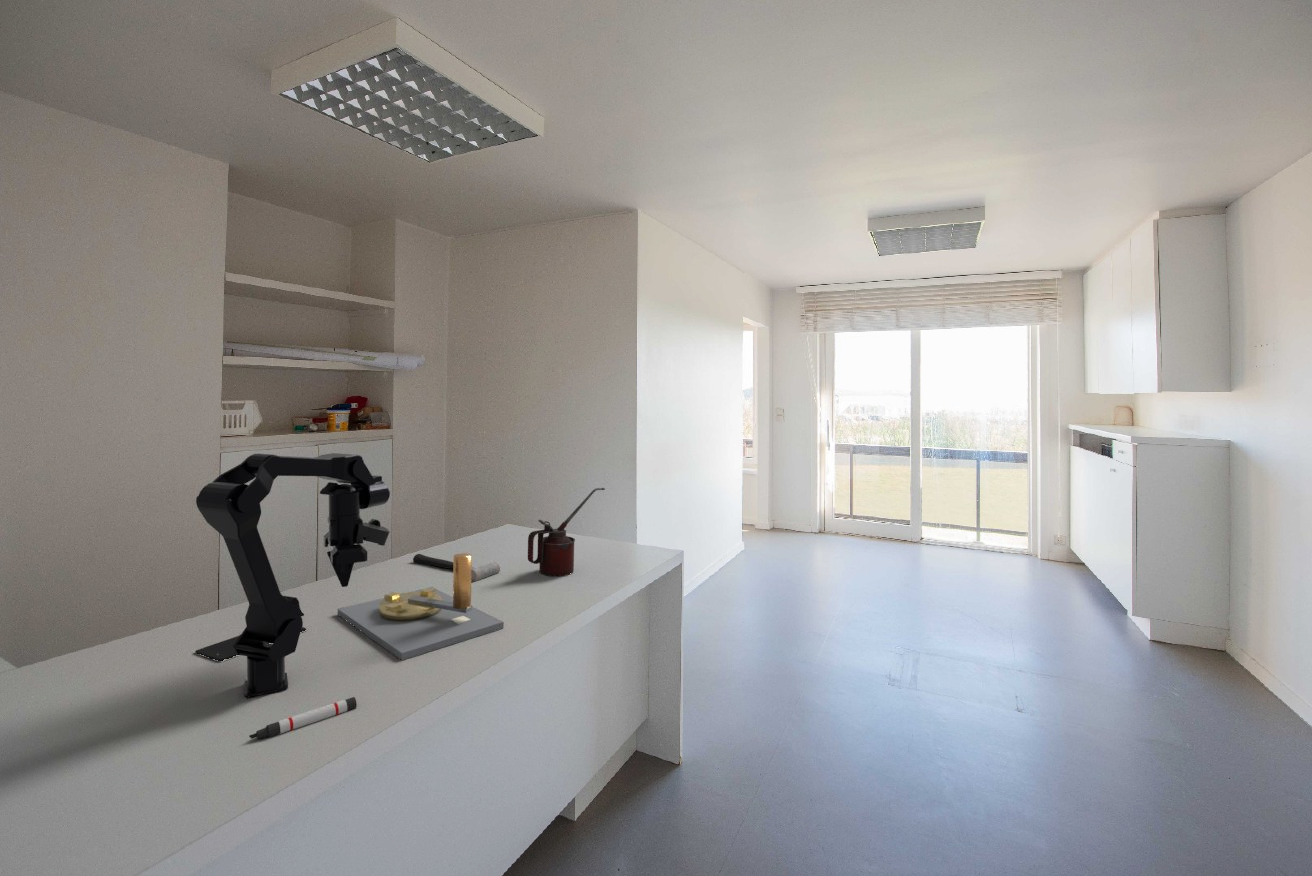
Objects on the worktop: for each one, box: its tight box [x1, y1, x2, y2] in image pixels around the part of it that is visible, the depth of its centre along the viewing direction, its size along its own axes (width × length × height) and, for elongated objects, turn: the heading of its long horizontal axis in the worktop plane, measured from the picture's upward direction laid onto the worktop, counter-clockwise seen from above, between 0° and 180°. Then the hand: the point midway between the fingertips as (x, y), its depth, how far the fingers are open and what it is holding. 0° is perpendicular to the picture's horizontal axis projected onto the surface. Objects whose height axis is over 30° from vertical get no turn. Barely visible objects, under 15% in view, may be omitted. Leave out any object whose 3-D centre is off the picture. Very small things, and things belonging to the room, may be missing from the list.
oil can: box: [527, 487, 606, 577], centre depth 184 cm, size 28×11×25 cm, turn 134°
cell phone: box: [195, 627, 307, 661], centre depth 125 cm, size 9×18×1 cm, turn 156°
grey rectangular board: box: [337, 586, 505, 661], centre depth 139 cm, size 34×24×2 cm
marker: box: [248, 696, 358, 740], centre depth 95 cm, size 15×2×2 cm, turn 136°
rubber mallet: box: [412, 553, 501, 582], centre depth 180 cm, size 10×4×30 cm
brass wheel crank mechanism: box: [379, 552, 473, 621], centre depth 139 cm, size 24×14×15 cm, turn 72°
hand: (344, 586), depth 123 cm, fingers closed
